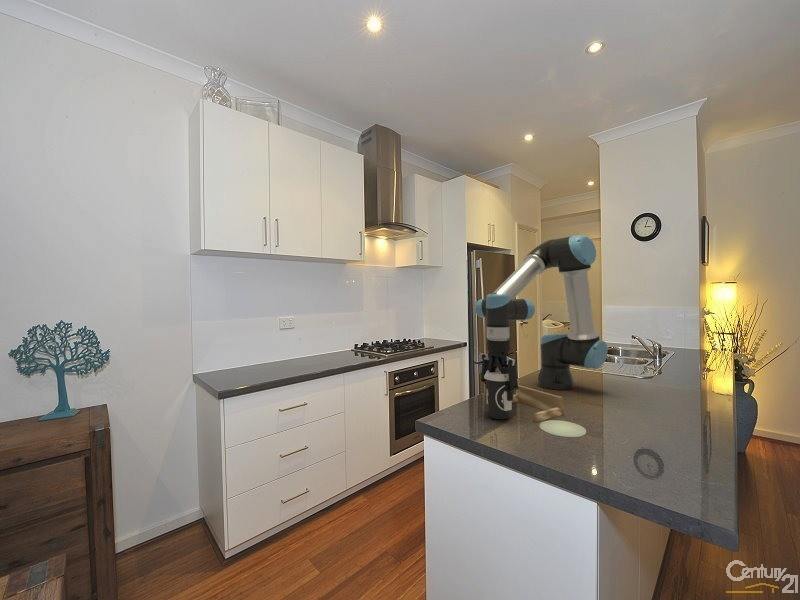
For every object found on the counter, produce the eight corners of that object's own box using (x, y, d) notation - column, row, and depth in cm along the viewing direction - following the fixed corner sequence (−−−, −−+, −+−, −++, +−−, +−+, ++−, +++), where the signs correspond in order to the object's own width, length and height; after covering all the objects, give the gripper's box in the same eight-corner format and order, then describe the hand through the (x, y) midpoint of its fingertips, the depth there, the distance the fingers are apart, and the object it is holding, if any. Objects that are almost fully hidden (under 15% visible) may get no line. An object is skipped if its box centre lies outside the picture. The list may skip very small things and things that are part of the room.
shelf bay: (518, 400, 136) (518, 385, 136) (563, 414, 119) (563, 397, 119) (493, 406, 129) (493, 390, 129) (536, 422, 112) (536, 403, 112)
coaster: (557, 418, 115) (557, 417, 115) (595, 431, 104) (595, 430, 104) (530, 426, 109) (530, 425, 109) (568, 440, 98) (568, 439, 98)
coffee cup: (510, 411, 122) (509, 368, 121) (516, 421, 112) (516, 375, 112) (482, 410, 123) (482, 368, 122) (486, 420, 113) (486, 374, 113)
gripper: (469, 337, 124) (470, 400, 124) (513, 343, 106) (514, 417, 107) (485, 335, 128) (485, 397, 128) (530, 341, 110) (531, 413, 110)
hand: (498, 406), depth 117 cm, fingers closed on coffee cup, 7 cm apart
